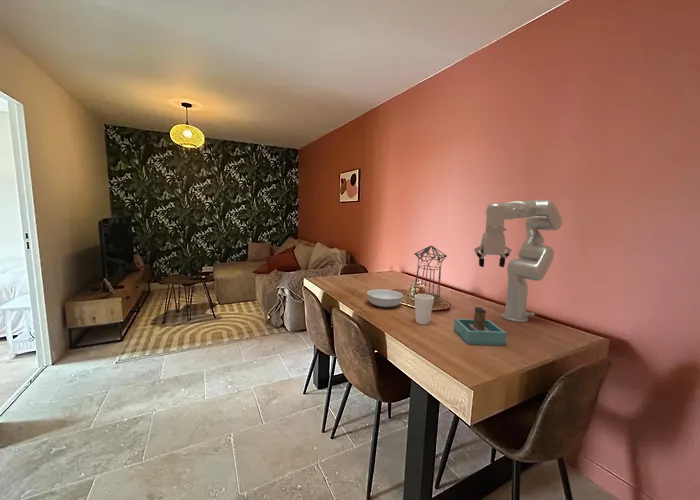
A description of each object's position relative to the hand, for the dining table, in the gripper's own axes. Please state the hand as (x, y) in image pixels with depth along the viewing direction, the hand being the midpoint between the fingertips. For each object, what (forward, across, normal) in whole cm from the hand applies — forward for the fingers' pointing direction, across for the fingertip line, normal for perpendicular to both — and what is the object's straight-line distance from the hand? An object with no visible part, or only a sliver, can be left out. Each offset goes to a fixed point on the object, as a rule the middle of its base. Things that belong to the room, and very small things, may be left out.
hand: (491, 266), depth 149 cm
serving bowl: (+29, +45, -32) cm, 63 cm away
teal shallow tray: (+29, +11, +14) cm, 34 cm away
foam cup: (+29, +30, -4) cm, 42 cm away
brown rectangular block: (+28, +11, +14) cm, 33 cm away
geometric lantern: (+30, +18, -39) cm, 53 cm away
